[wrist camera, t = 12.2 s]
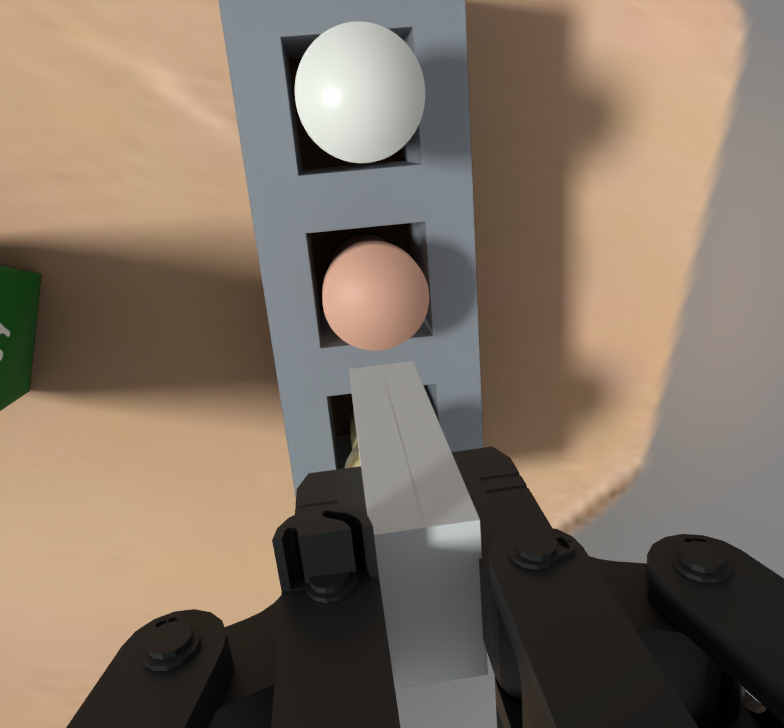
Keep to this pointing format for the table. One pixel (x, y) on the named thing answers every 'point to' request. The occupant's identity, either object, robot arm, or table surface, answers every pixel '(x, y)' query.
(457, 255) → the block
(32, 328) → the milk carton
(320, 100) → the white rounded piece
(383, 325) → the pink rounded piece
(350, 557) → the robot arm
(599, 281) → the table surface
